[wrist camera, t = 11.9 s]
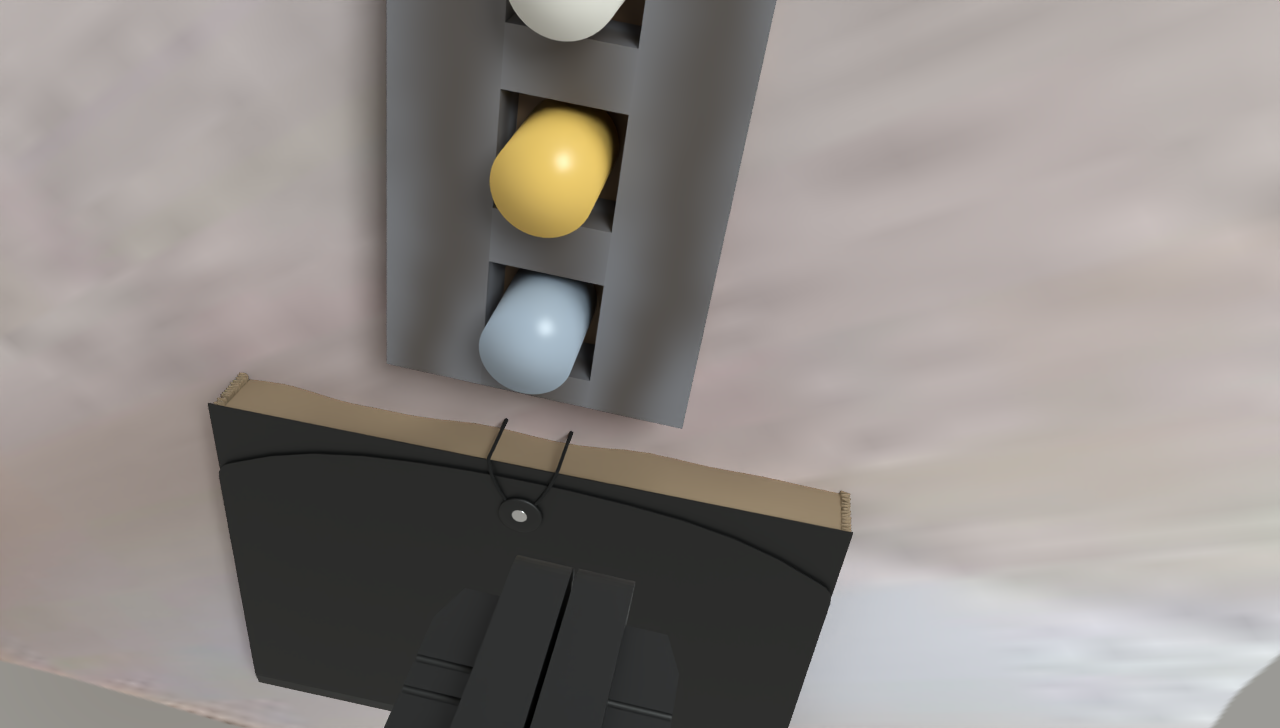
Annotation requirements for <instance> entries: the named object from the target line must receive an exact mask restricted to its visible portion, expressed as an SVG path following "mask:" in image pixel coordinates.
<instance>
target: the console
mask: <svg viewBox="0 0 1280 728" xmlns="http://www.w3.org/2000/svg"><path fill="white" fill-rule="evenodd" d="M775 5H776V0H625V1H624V2H623V4H622V5H621V6H620V8H619V9H618V10H617V12H616V13H615V14H614V16H613V17H612V18H611V20H610V21H609V22H608V23H607V24H606V25H605V26H604V27H603V28H602V29H601V30H600V31H599V32H597V33H595V34H594V35H592V36H590V37H588V38H585V39H582V40H578V41H557V40H553V39H549V38H547V37H544V36H542V35H540V34H538V33H536V32H535V31H533V30H532V29H531V28H529V27H528V26H527V25H526V24H525V23H524V22H523V21H522V20H521V19H520V18H519V16H518V15H517V14H516V12H515V11H514V9H513V8H512V6H511V4H510V2H509V0H387V364H391V365H395V366H400V367H404V368H409V369H413V370H418V371H423V372H427V373H432V374H436V375H441V376H445V377H450V378H454V379H459V380H463V381H468V382H472V383H477V384H481V385H486V386H490V387H495V388H500V389H504V390H509V391H513V392H516V391H514V390H511V389H509V388H507V387H505V386H503V385H502V384H500V383H499V382H498V381H496V380H495V379H494V378H493V377H492V376H491V375H490V374H489V372H488V371H487V370H486V368H485V366H484V365H483V363H482V360H481V357H480V353H479V340H480V337H481V334H482V332H483V330H484V328H485V326H486V325H487V323H488V321H489V319H490V318H491V316H492V314H493V313H494V311H495V309H496V307H497V306H498V304H499V302H500V300H501V299H502V297H503V295H504V293H505V292H506V290H507V288H508V287H509V285H510V283H511V281H512V280H513V278H514V276H515V274H516V273H517V271H518V270H519V269H520V268H523V269H528V270H532V271H537V272H542V273H546V274H551V275H556V276H560V277H565V278H570V279H574V280H579V281H584V282H588V283H592V284H593V285H594V288H595V291H596V295H597V306H596V310H595V313H594V315H593V318H592V320H591V323H590V325H589V328H588V330H587V333H586V335H585V338H584V340H583V343H582V345H581V348H580V350H579V352H578V355H577V357H576V360H575V362H574V365H573V367H572V370H571V372H570V375H569V376H568V378H567V380H566V381H565V382H564V383H563V384H562V385H561V386H559V387H558V388H556V389H555V390H552V391H550V392H547V393H543V394H527V395H531V396H536V397H540V398H545V399H549V400H554V401H558V402H563V403H567V404H572V405H577V406H581V407H586V408H590V409H595V410H599V411H604V412H608V413H613V414H617V415H622V416H626V417H631V418H635V419H640V420H644V421H649V422H654V423H658V424H663V425H667V426H672V427H676V428H681V429H682V427H683V423H684V418H685V413H686V409H687V404H688V400H689V395H690V391H691V386H692V382H693V377H694V373H695V368H696V363H697V359H698V354H699V350H700V345H701V341H702V336H703V332H704V327H705V323H706V318H707V313H708V309H709V304H710V300H711V295H712V291H713V286H714V282H715V277H716V273H717V268H718V264H719V259H720V254H721V250H722V245H723V241H724V236H725V232H726V227H727V223H728V218H729V214H730V209H731V204H732V200H733V195H734V191H735V186H736V182H737V177H738V173H739V168H740V164H741V159H742V154H743V150H744V145H745V141H746V136H747V132H748V127H749V123H750V118H751V114H752V109H753V105H754V100H755V95H756V91H757V86H758V82H759V77H760V73H761V68H762V64H763V59H764V55H765V50H766V45H767V41H768V36H769V32H770V27H771V23H772V18H773V14H774V9H775ZM547 98H548V99H553V100H558V101H563V102H568V103H573V104H577V105H582V106H587V107H592V108H597V109H602V110H605V111H606V112H607V113H608V115H609V116H610V117H611V119H612V121H613V123H614V125H615V127H616V130H617V133H618V138H619V152H618V157H617V160H616V162H615V164H614V166H613V168H612V170H611V172H610V174H609V176H608V179H607V181H606V183H605V185H604V187H603V189H602V191H601V193H600V195H599V197H598V199H597V201H596V203H595V205H594V207H593V209H592V211H591V213H590V215H589V216H588V218H587V219H586V221H585V222H584V223H583V224H582V225H581V226H580V227H579V228H578V229H576V230H575V231H573V232H571V233H569V234H567V235H564V236H560V237H555V238H542V237H536V236H533V235H530V234H527V233H525V232H523V231H521V230H519V229H517V228H516V227H514V226H513V225H512V224H510V223H509V222H508V221H507V220H506V219H505V218H504V217H503V216H502V214H501V213H500V211H499V210H498V208H497V207H496V205H495V203H494V200H493V198H492V194H491V190H490V172H491V168H492V165H493V163H494V161H495V159H496V157H497V156H498V154H499V153H500V152H501V150H502V149H503V148H504V146H505V145H506V144H507V143H508V141H509V140H510V139H511V138H512V136H513V135H514V134H515V132H516V131H517V130H518V129H519V127H520V126H521V125H522V123H523V122H524V121H525V120H526V118H527V117H528V116H529V114H530V113H531V112H532V111H533V109H534V108H535V107H536V106H537V105H538V104H539V103H541V102H542V101H543V100H545V99H547ZM518 393H520V392H518ZM522 394H525V393H522Z"/></svg>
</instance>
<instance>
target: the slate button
mask: <svg viewBox="0 0 1280 728" xmlns="http://www.w3.org/2000/svg"><path fill="white" fill-rule="evenodd" d="M596 306H597V295H596V291H595V288H594V285H593V284H592V283H588V282H584V281H579V280H574V279H570V278H565V277H560V276H556V275H551V274H546V273H542V272H537V271H532V270H528V269H523V268H520V269H519V270H518V271H517V273H516V274H515V276H514V278H513V280H512V281H511V283H510V285H509V287H508V288H507V290H506V292H505V293H504V295H503V297H502V299H501V300H500V302H499V304H498V306H497V307H496V309H495V311H494V313H493V314H492V316H491V318H490V319H489V321H488V323H487V325H486V326H485V328H484V330H483V332H482V334H481V337H480V340H479V353H480V357H481V360H482V363H483V365H484V366H485V368H486V370H487V371H488V372H489V374H490V375H491V376H492V377H493V378H494V379H495V380H496V381H498V382H499V383H500V384H502V385H503V386H505V387H507V388H509V389H511V390H514V391H516V392H520V393H525V394H543V393H547V392H550V391H552V390H555V389H556V388H558V387H559V386H561V385H562V384H563V383H564V382H565V381H566V380H567V378H568V376H569V375H570V372H571V370H572V367H573V365H574V362H575V360H576V357H577V355H578V352H579V350H580V348H581V345H582V343H583V340H584V338H585V335H586V333H587V330H588V328H589V325H590V323H591V320H592V318H593V315H594V313H595V310H596Z"/></svg>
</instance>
